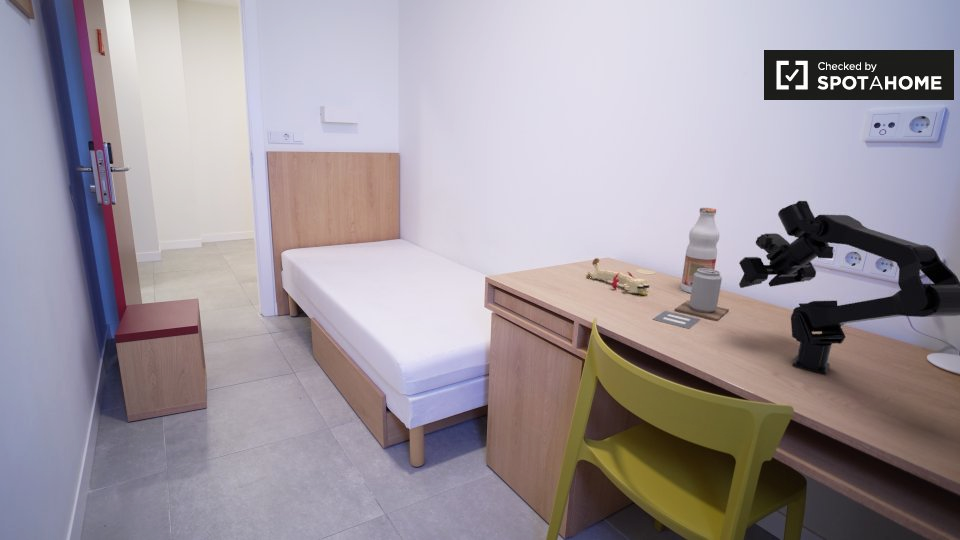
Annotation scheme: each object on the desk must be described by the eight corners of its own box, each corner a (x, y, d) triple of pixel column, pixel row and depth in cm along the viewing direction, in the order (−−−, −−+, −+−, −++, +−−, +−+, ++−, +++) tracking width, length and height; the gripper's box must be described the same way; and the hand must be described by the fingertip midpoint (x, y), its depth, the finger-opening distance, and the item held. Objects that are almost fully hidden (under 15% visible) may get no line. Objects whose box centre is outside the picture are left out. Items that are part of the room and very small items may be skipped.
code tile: (689, 328, 132) (689, 328, 132) (652, 319, 138) (652, 318, 138) (700, 319, 139) (700, 319, 139) (665, 311, 145) (665, 310, 145)
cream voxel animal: (581, 282, 177) (636, 296, 156) (582, 259, 175) (637, 269, 154) (602, 279, 182) (657, 293, 161) (603, 256, 180) (658, 266, 159)
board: (717, 321, 138) (717, 319, 138) (674, 311, 145) (674, 309, 145) (728, 311, 147) (728, 309, 147) (687, 302, 154) (687, 300, 154)
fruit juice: (674, 287, 170) (686, 206, 163) (698, 286, 172) (711, 206, 165) (692, 295, 161) (705, 210, 154) (716, 294, 164) (730, 210, 157)
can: (714, 315, 141) (721, 275, 138) (686, 310, 145) (692, 270, 142) (717, 308, 147) (724, 269, 144) (690, 303, 151) (696, 265, 148)
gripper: (814, 224, 120) (770, 258, 133) (751, 224, 116) (712, 260, 129) (838, 262, 115) (789, 294, 128) (773, 264, 110) (729, 297, 123)
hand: (755, 285), depth 127 cm, fingers open, 9 cm apart
